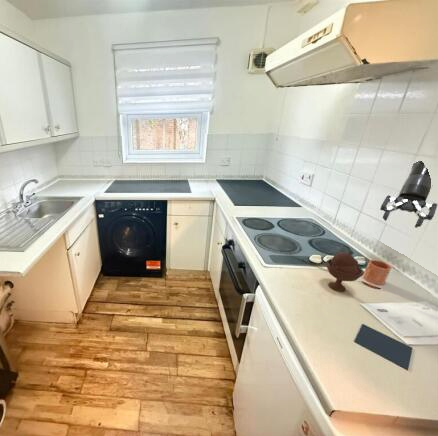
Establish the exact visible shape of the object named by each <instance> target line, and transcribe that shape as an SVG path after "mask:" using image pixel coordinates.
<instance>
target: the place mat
mask: <svg viewBox="0 0 438 436" xmlns="http://www.w3.org/2000/svg"><path fill="white" fill-rule="evenodd" d="M353 342H354V343H356V344H357V345H360V346H361V347H363V348H364V349H367V350H369V351H370V352H373V354H376V355H378V356H380V357H382V358H384V359H385V360H387V361H388V362H389V361H390V362H391V363H393V364H395V365H397V366H399V367H401V368H403V369H405V370H406V371H408V370H409V367H410V363H411V357H412V353H413V347H412V346H410V345H408V344H406V343H403V342H401V341H400V340H397V339H396V338H393V337H392V336H389V335H388V334H385V333H383V332H381V331H379V330H376V329H375V328H373V327H370V326H369V325H366V324H364V323H362V324H361V326H360V328H359V330H358V332H357V334H356V337H355V338H354V340H353Z"/></svg>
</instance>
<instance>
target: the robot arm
mask: <svg viewBox="0 0 438 436" xmlns="http://www.w3.org/2000/svg"><path fill="white" fill-rule="evenodd" d="M430 189H431V190H432V188H431V178H430V175H429V172H428V169H427V168H426V167H425V165H424V163H423V162H422V161H418V162H416V163H414V164H413V166H412V168H411V167H410V171H409V174H408V177H407V178H406V179H405V182H404V183H403V185H402V187H401V190H400V191H399V193H398V196H397V197H392V196H391V195H387V196H386V197H385V198H384V200H383V202H382V203H381V206H380V208H379V210H380V211H383V212H384V213H383V215H382V219H383V221H387V220H388V219H389V216H390V213H392V212H395V211H397V210H400V211H402V212H403V211H404V212H408V213H414V215H415V216H417V220H416V223H415V225H414V228H416V229H417V228H420V227H421V226H423V223H424V221H425V220H427V221H432V220H433V218H434V216H435V213H436V210H437V208H438V203H435V202H434V203H427V199H428V197H429V195H430V193H431V191H430ZM392 202H394V203H393V204H392V205H390V206H388V204H390V203H392ZM423 208H426V209H427V210H428V214H425V212H424V210H423Z"/></svg>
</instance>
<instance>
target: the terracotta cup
mask: <svg viewBox="0 0 438 436" xmlns="http://www.w3.org/2000/svg"><path fill="white" fill-rule="evenodd" d="M391 270H392V266H391V265H390V264H389V263H387V262H384V261H382V260H377V259H370V260H369V261H368V263H367V266H366V268H365V270H364V274H363V275H362V279H363V280H364V281H363V280H361V283H362V284H363V285H365V286H366V287H368V288H371V289H375V290H381V289H382V288H381V287H379V286H385V283H386V281H387V279H388V276H389V274H390V273H391Z"/></svg>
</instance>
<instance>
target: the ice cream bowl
mask: <svg viewBox="0 0 438 436" xmlns="http://www.w3.org/2000/svg"><path fill="white" fill-rule="evenodd" d="M325 265H326V268H327V271H328V273H329V274H330V276H332V277H333V278H334V279H336V280H335V281H330V282H329V283H327V285H328V288H330V289H331V290H333V291H335V292H338V293H345V292H346V291H347V289H346V286H345V285H343V284H342V283H343V282H354V281H357V280H359V279H360V278H361V277H363V275H364V272H365V270H363V268H362V267H361V266H359V261H358V260H357V259H356V258H355V257H354V256H352V254H350V253H348V252H338V253H335V255H333V257H332V258H330V259H328V260H327V259H326V261H325Z"/></svg>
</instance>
